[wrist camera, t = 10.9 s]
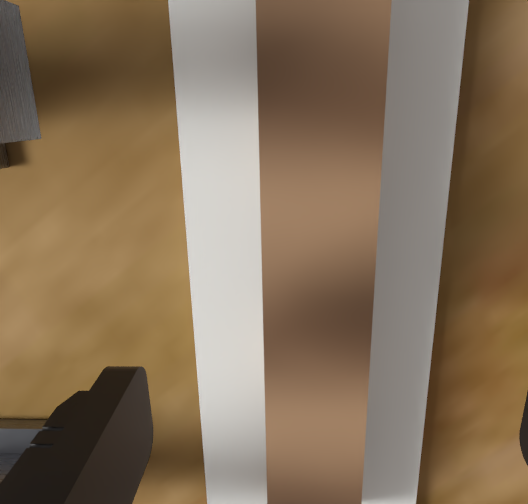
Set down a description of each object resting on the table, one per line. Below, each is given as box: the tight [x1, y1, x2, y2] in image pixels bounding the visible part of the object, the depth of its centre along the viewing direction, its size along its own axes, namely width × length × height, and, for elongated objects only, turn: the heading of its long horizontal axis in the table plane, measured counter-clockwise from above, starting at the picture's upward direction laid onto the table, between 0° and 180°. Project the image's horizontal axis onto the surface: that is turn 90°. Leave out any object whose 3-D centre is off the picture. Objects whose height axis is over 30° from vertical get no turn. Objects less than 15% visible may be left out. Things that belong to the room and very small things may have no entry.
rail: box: [256, 0, 392, 504], centre depth 15 cm, size 20×3×3 cm, turn 1°
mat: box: [168, 0, 469, 504], centre depth 17 cm, size 24×9×1 cm, turn 1°
